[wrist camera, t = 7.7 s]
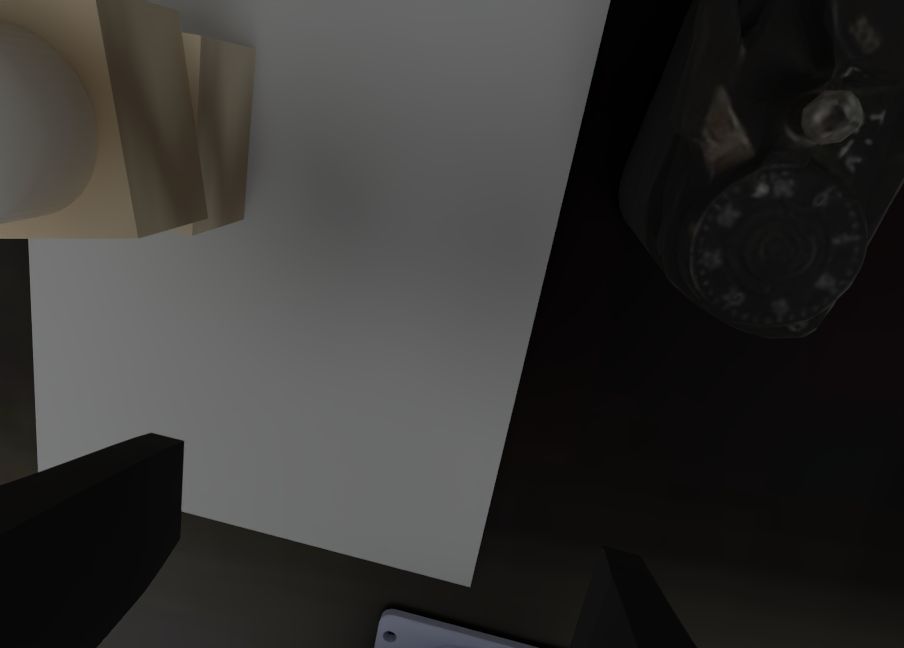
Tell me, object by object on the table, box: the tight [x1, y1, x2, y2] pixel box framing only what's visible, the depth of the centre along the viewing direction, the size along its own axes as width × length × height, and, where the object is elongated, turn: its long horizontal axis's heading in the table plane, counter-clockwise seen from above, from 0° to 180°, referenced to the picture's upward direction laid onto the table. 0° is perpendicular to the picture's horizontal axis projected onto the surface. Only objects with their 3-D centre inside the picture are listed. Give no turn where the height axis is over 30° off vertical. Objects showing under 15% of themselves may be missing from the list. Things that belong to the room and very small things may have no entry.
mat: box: [28, 0, 610, 587], centre depth 20 cm, size 20×17×1 cm
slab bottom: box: [167, 32, 256, 236], centre depth 18 cm, size 5×5×3 cm
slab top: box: [0, 0, 208, 239], centre depth 15 cm, size 5×5×3 cm
